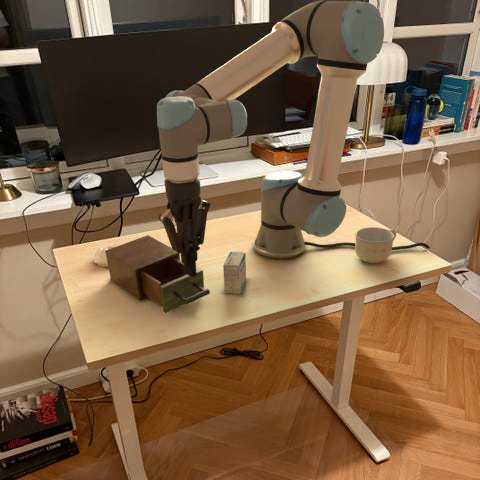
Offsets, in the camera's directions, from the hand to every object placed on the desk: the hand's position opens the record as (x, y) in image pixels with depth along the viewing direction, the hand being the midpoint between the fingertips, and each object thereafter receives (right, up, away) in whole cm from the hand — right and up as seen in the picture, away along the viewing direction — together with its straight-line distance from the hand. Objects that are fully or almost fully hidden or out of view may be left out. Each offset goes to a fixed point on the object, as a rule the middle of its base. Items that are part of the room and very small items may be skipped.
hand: (190, 274), depth 117 cm
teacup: (+52, +8, +29) cm, 60 cm away
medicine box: (+10, -2, +16) cm, 19 cm away
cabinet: (-14, 0, +19) cm, 24 cm away
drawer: (-5, -5, +10) cm, 12 cm away
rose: (-27, +7, +29) cm, 41 cm away
